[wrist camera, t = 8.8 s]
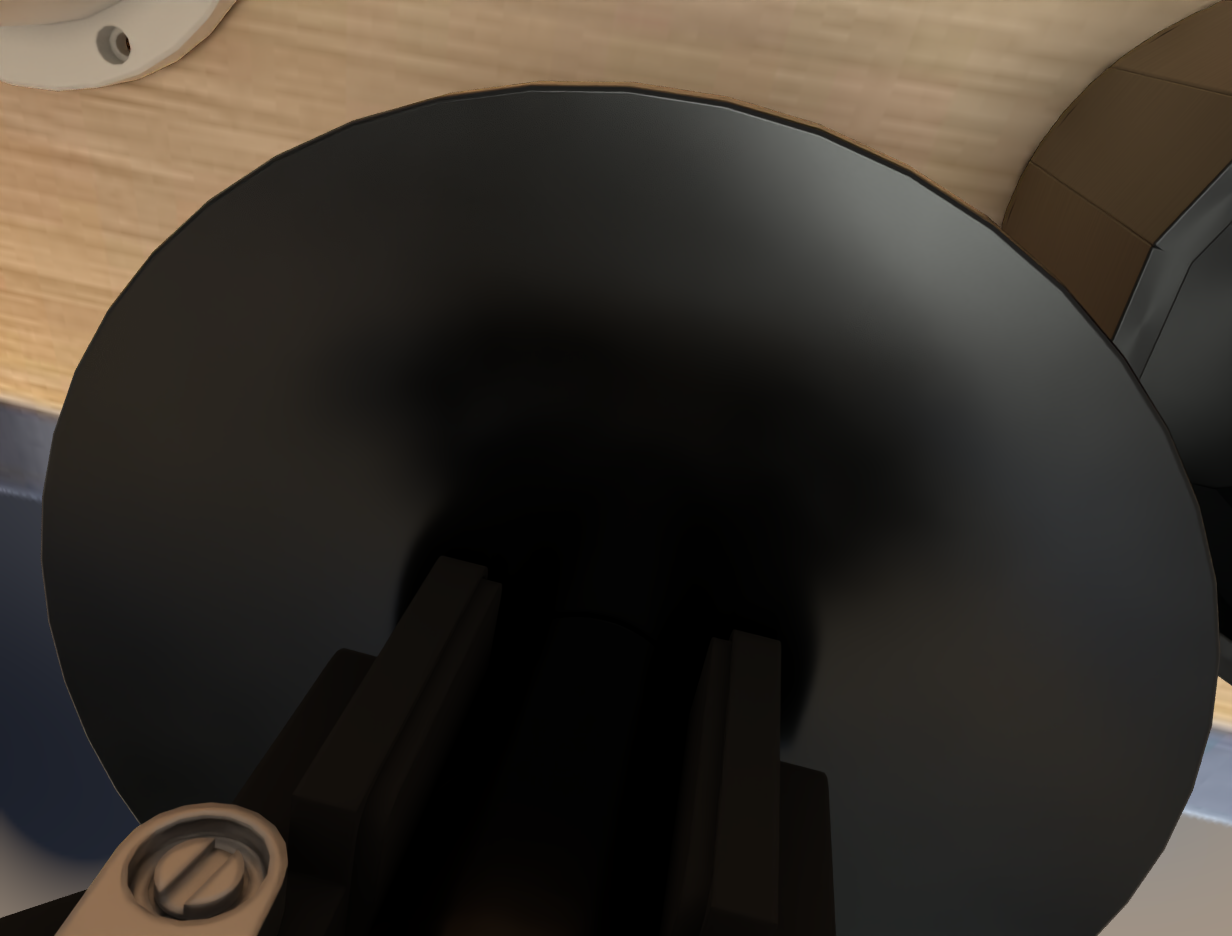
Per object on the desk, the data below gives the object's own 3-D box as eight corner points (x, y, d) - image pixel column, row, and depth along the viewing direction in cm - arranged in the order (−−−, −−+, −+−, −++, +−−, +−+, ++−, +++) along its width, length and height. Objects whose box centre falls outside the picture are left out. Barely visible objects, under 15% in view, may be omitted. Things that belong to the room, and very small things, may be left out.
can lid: (103, 888, 16) (-246, 1346, 11) (79, -57, 10) (-705, -111, 5) (952, 1121, 16) (1042, 1735, 10) (1429, 248, 10) (2252, 575, 4)
